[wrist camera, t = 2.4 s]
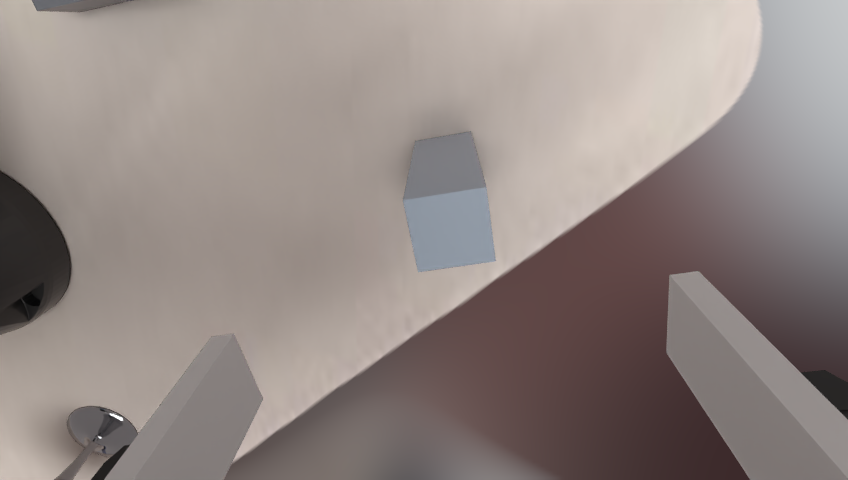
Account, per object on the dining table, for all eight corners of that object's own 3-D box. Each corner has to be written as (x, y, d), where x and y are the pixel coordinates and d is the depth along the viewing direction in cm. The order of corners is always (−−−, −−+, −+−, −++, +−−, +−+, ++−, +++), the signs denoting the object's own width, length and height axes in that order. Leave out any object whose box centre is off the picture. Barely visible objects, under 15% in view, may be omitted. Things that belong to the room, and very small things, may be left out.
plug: (425, 193, 34) (418, 271, 24) (415, 140, 33) (403, 200, 22) (478, 184, 34) (495, 261, 23) (470, 131, 32) (486, 187, 21)
